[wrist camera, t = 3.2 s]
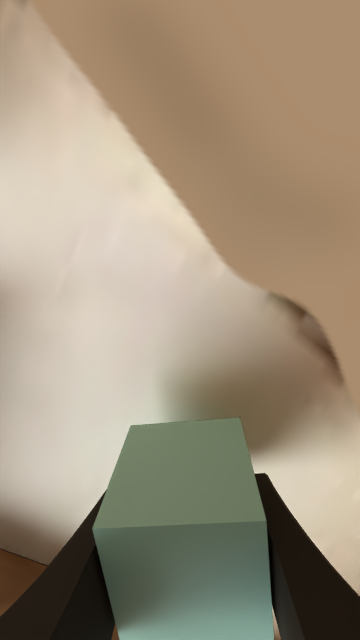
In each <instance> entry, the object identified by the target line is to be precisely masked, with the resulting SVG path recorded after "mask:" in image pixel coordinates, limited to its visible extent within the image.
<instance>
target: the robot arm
mask: <svg viewBox="0 0 360 640" xmlns="http://www.w3.org/2000/svg"><path fill="white" fill-rule="evenodd" d="M254 475H255V478H256V482H257V486H258V490H259V494H260V498H261V502H262V506H263V510H264V513H265V517H266V522H267V538H268V553H269V569H270V585H271V600H272V606H273V610H274V613H275V617H276V621H277V625H278V628H279V632H280V636H281V640H360V596H359V595H358V594H357V593H356V592H355V591H354V590H353V589H352V588H351V586H350V585H349V584H348V583H347V582H346V581H345V580H344V579H343V578H342V576H341V575H340V574H339V573H338V572H337V571H336V570H335V568H334V567H333V566H332V565H331V564H330V563H329V561H328V560H327V559H326V558H325V557H324V555H323V554H322V553H321V552H320V550H319V549H318V548H317V547H316V545H315V544H314V543H313V542H312V540H311V539H310V538H309V537H308V535H307V534H306V533H305V531H304V530H303V529H302V527H301V526H300V525H299V523H298V522H297V520H296V519H295V518H294V516H293V515H292V514H291V512H290V511H289V509H288V508H287V506H286V505H285V503H284V502H283V500H282V499H281V497H280V496H279V494H278V492H277V491H276V489H275V488H274V486H273V484H272V482H271V481H270V479H269V477H268V475H266V474H265V473H260V474H254ZM106 491H107V490H106ZM106 491H105V492H104V494H103V495H102V497H101V498H100V499H99V501H98V502H97V504H96V505H95V506H94V508H93V509H92V511H91V512H90V513H89V515H88V516H87V517H86V519H85V520H84V521H83V523H82V524H81V525H80V527H79V528H78V529H77V531H76V532H75V533H74V535H73V536H72V537H71V538H70V540H69V541H68V542H67V543H66V545H65V546H64V547H63V548H62V550H61V551H60V552H59V553H58V554H57V556H56V557H55V558H54V559H53V561H52V562H51V563H50V564H49V565H48V566H47V568H46V569H45V570H44V571H43V572H42V573H41V574H40V576H39V577H38V578H37V579H36V580H35V581H34V582H33V583H32V584H31V586H30V587H29V588H28V589H27V590H26V591H25V592H24V593H23V594H22V595H21V596H20V597H19V598H18V599H17V600H16V601H15V602H14V603H13V604H12V605H11V606H10V607H9V608H8V609H7V610H6V611H5V612H4V613H3V614H2V615H1V616H0V640H111V639H112V635H113V631H114V627H115V619H114V615H113V611H112V607H111V603H110V599H109V595H108V591H107V587H106V582H105V578H104V574H103V570H102V566H101V562H100V558H99V554H98V550H97V546H96V542H95V538H94V534H93V530H92V528H93V526H94V523H95V520H96V517H97V515H98V512H99V509H100V507H101V504H102V501H103V499H104V496H105V493H106Z"/></svg>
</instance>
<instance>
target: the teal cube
mask: <svg viewBox="0 0 360 640" xmlns="http://www.w3.org/2000/svg"><path fill="white" fill-rule="evenodd" d="M92 530H93V534H94V538H95V542H96V546H97V550H98V554H99V558H100V562H101V566H102V570H103V574H104V578H105V582H106V587H107V591H108V595H109V599H110V603H111V607H112V611H113V615H114V619H115V623H116V627H117V631H118V635H119V639H120V640H274V631H273V616H272V600H271V585H270V569H269V553H268V538H267V522H266V517H265V513H264V510H263V506H262V502H261V498H260V494H259V490H258V486H257V482H256V478H255V475H254V471H253V467H252V463H251V459H250V455H249V451H248V447H247V443H246V439H245V436H244V432H243V428H242V424H241V420H240V417H237V418H224V419H211V420H198V421H184V422H171V423H158V424H145V425H132V426H130V429H129V432H128V434H127V437H126V440H125V442H124V445H123V448H122V450H121V453H120V456H119V458H118V461H117V464H116V466H115V469H114V472H113V475H112V477H111V480H110V483H109V485H108V488H107V491H106V493H105V496H104V499H103V501H102V504H101V507H100V509H99V512H98V515H97V517H96V520H95V523H94V526H93V528H92Z"/></svg>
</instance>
